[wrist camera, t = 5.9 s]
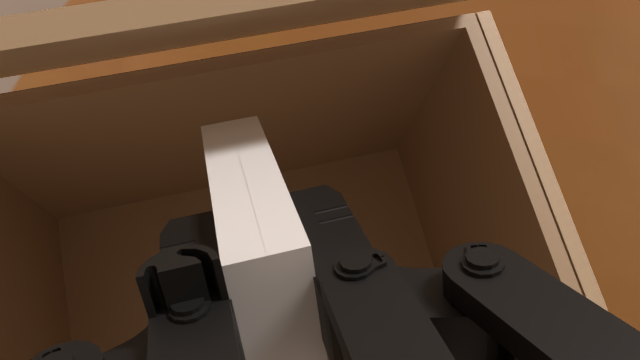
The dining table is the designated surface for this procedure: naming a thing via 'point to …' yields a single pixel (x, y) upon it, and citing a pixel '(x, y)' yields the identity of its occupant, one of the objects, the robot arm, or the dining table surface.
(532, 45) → the dining table surface
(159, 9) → the carton flap
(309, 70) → the carton
